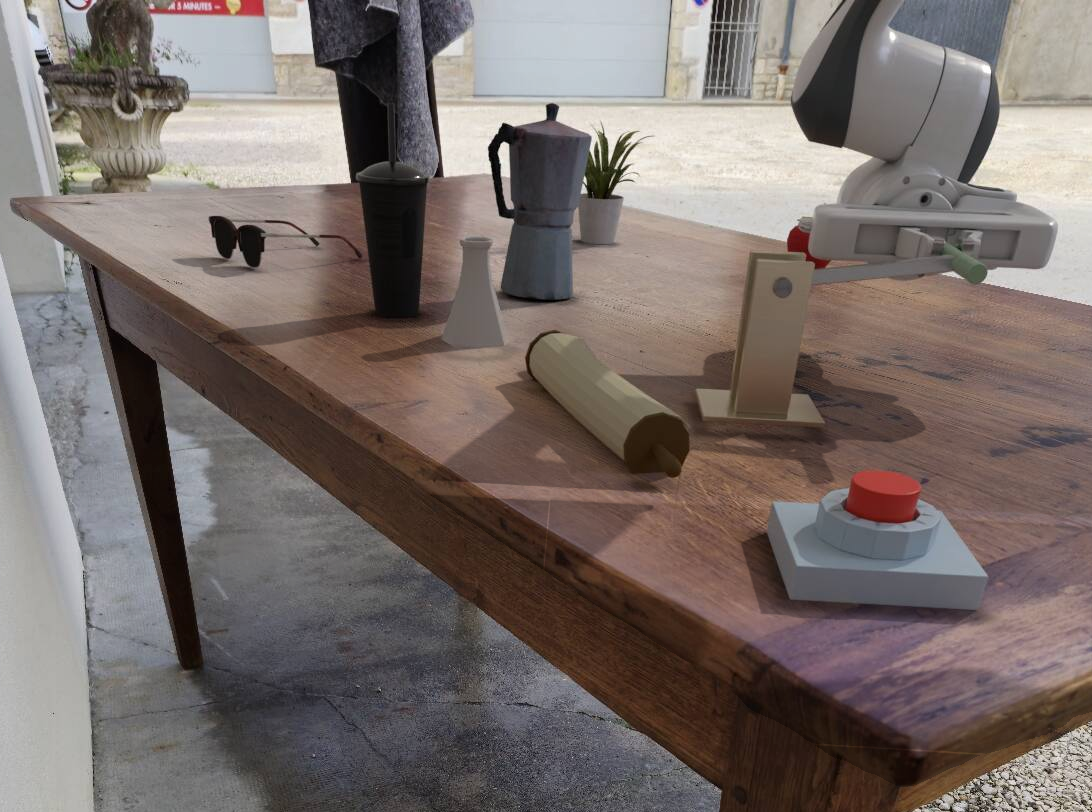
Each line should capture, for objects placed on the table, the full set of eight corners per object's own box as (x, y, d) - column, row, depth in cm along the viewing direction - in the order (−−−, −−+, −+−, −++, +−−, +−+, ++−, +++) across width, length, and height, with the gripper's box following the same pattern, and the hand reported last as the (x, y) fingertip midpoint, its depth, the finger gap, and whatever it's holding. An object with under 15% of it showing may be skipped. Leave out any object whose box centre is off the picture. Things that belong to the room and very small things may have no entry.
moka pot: (606, 294, 129) (620, 105, 118) (520, 311, 120) (526, 107, 108) (550, 281, 134) (558, 99, 123) (463, 296, 125) (463, 101, 113)
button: (903, 504, 64) (911, 472, 63) (920, 529, 61) (929, 496, 60) (839, 500, 65) (846, 468, 63) (852, 525, 61) (859, 492, 60)
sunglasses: (210, 254, 140) (207, 213, 137) (313, 251, 150) (312, 213, 147) (263, 272, 132) (261, 228, 129) (368, 268, 142) (368, 227, 139)
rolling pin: (512, 376, 97) (514, 320, 95) (569, 374, 99) (572, 318, 96) (636, 504, 72) (643, 433, 69) (710, 499, 74) (720, 428, 71)
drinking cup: (438, 308, 119) (436, 103, 108) (421, 323, 113) (417, 107, 102) (374, 303, 120) (365, 99, 109) (353, 317, 114) (342, 103, 102)
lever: (948, 265, 87) (951, 233, 85) (985, 290, 78) (990, 255, 77) (752, 286, 88) (752, 255, 87) (768, 312, 80) (769, 279, 79)
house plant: (657, 238, 166) (669, 118, 156) (645, 252, 154) (657, 124, 145) (569, 231, 168) (576, 113, 159) (551, 244, 157) (557, 118, 147)
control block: (932, 541, 69) (948, 483, 67) (978, 610, 61) (998, 547, 58) (766, 532, 69) (776, 474, 67) (789, 600, 61) (802, 536, 59)
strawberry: (806, 280, 142) (821, 198, 136) (839, 292, 136) (856, 206, 130) (769, 282, 140) (783, 198, 134) (801, 293, 134) (816, 207, 128)
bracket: (805, 407, 93) (835, 251, 85) (822, 436, 86) (855, 269, 79) (693, 401, 93) (713, 244, 86) (701, 430, 86) (723, 262, 79)
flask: (443, 356, 102) (442, 245, 96) (436, 338, 108) (435, 232, 102) (515, 356, 103) (519, 246, 98) (505, 338, 109) (508, 233, 103)
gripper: (800, 181, 93) (830, 202, 82) (1031, 191, 93) (1092, 213, 81) (788, 258, 97) (814, 288, 85) (1010, 267, 96) (1066, 299, 85)
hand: (952, 252), depth 83 cm, fingers closed on lever
